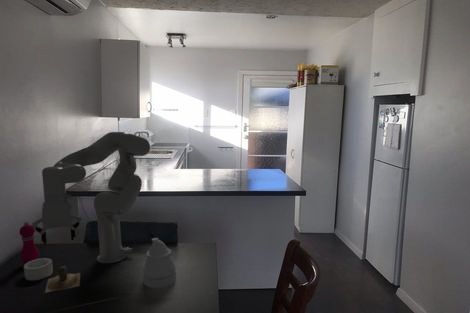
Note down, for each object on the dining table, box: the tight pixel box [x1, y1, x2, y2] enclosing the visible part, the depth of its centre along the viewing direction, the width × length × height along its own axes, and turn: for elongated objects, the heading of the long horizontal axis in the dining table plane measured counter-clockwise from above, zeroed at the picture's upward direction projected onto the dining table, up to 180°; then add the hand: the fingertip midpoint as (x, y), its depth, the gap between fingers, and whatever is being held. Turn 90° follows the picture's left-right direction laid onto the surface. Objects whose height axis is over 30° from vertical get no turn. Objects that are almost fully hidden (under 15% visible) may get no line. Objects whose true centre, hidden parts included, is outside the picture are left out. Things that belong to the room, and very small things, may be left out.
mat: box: [44, 272, 81, 294], centre depth 139 cm, size 12×12×1 cm
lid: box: [49, 265, 77, 289], centre depth 138 cm, size 10×10×6 cm
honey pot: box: [142, 237, 177, 289], centre depth 139 cm, size 13×13×18 cm
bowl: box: [23, 257, 54, 281], centre depth 145 cm, size 10×10×6 cm
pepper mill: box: [19, 221, 40, 268], centre depth 155 cm, size 7×7×20 cm
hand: (59, 241), depth 136 cm, fingers open, 9 cm apart
